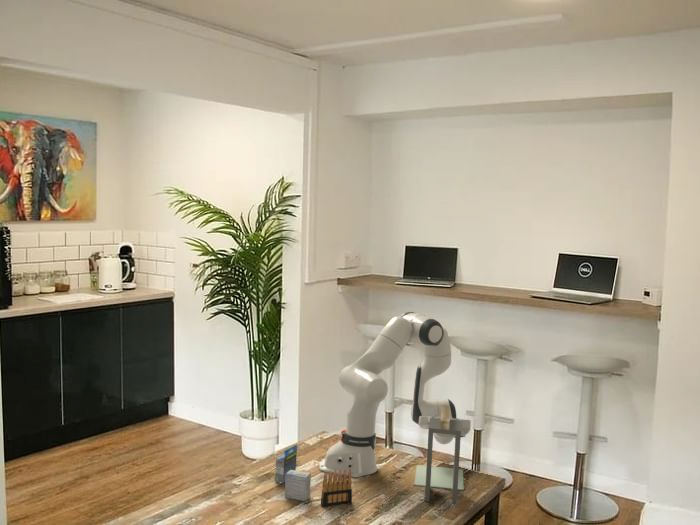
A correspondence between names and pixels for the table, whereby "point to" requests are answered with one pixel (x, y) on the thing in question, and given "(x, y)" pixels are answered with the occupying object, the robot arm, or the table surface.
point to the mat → (438, 477)
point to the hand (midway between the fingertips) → (444, 419)
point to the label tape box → (285, 464)
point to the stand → (454, 430)
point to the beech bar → (445, 417)
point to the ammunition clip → (336, 489)
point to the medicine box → (297, 485)
